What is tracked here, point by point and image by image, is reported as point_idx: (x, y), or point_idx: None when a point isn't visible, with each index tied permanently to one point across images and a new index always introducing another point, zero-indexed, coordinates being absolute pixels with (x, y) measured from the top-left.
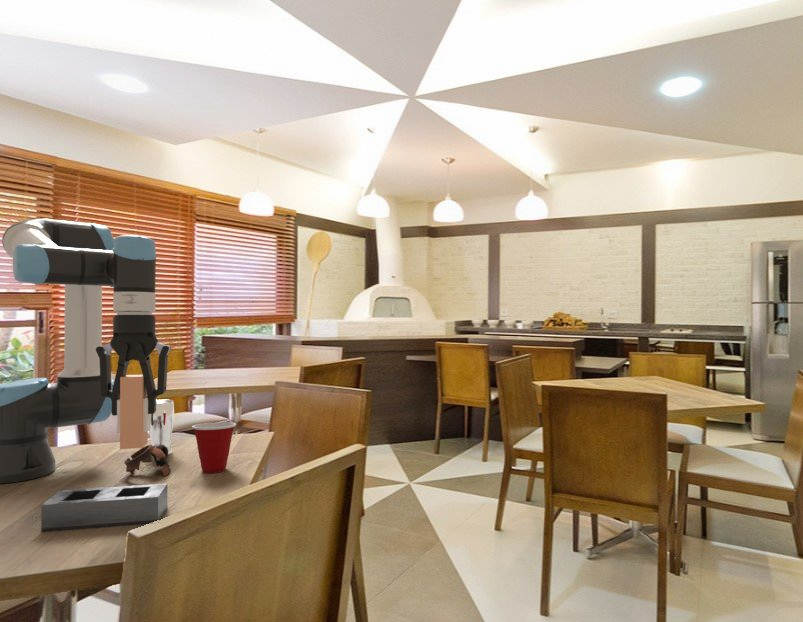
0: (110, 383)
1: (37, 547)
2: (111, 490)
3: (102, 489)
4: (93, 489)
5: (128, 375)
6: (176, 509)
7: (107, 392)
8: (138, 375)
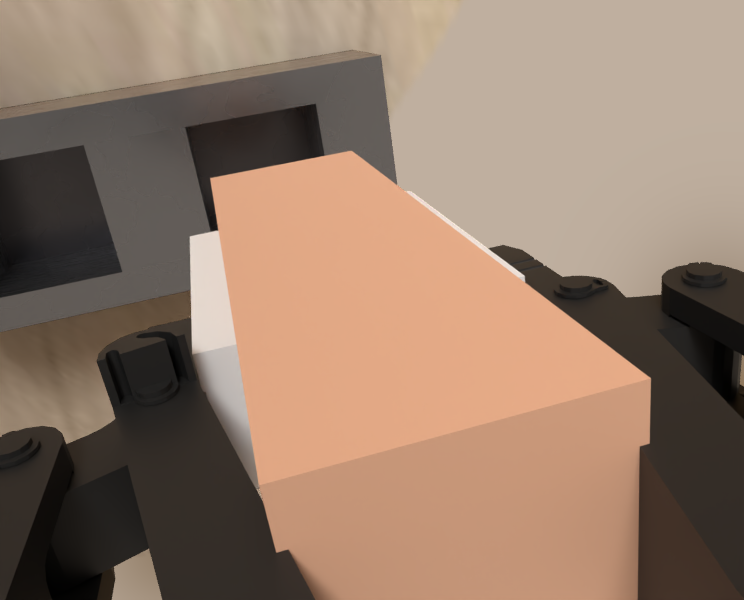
0: (44, 557)
1: (56, 412)
2: (142, 157)
3: (82, 142)
4: (30, 140)
5: (350, 556)
6: (398, 75)
7: (113, 586)
8: (534, 535)
